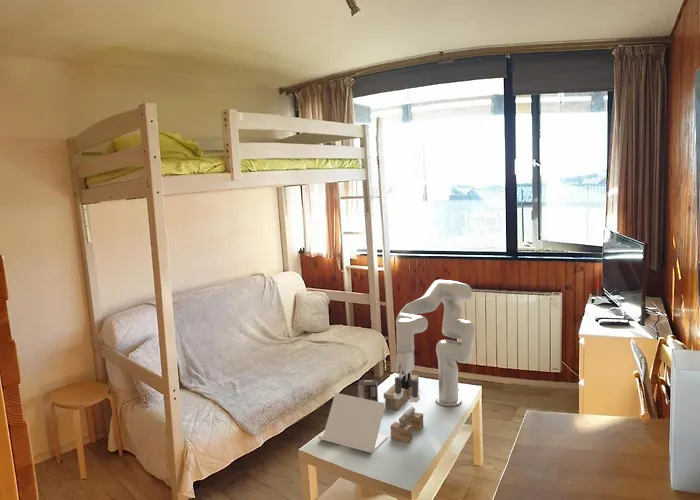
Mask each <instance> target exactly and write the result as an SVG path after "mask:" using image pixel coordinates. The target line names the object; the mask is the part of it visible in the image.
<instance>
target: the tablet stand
mask: <svg viewBox="0 0 700 500" xmlns="http://www.w3.org/2000/svg"><path fill="white" fill-rule="evenodd" d="M384 411H385V402H381V401H378V402H377V401H372V400H368V399H363V398H359V396H358V397H357V396H354V395H353V396H352V395H348V394H344V393H338V392H336V393H334V397H333V400H332V403H331V407H330V410H329V413H328V417H327V421H326V425H325V428H324V432H323V436H318V439H319V440H322V441H326V442H328V443H333V444H337V445H340V446H344V447H348V448H352V449H355V450H358V451H363V452H365V453H369V454H373V453H374V452H375V451H376V450H377V449H378V448H379V447H380V446H381V445H382V444H383V443H384V442H385V441H386V440H387V439H388V435H386V434H381V433H379V431H380V427H381V424H382V419H383V414H384Z"/></svg>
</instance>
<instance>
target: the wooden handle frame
mask: <svg viewBox="0 0 700 500" xmlns="http://www.w3.org/2000/svg"><path fill="white" fill-rule="evenodd" d="M422 428H424V413H421V412H418V411H416V408H415V407H414V406H411V407H409V408H408V409H407V410H405V411H404V412H403V413H402V415H400V416H399V418H398V421H394V422H393V423H392V424H391V425H390V439H391V440H394V441H398V442H402V443H406V444H408V443H410V441H411V440H412V439H413V430H416V431H421V429H422Z"/></svg>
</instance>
